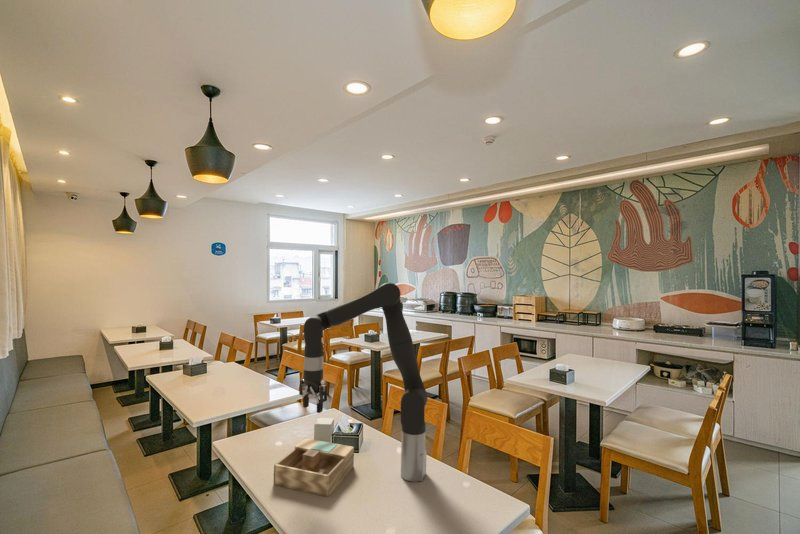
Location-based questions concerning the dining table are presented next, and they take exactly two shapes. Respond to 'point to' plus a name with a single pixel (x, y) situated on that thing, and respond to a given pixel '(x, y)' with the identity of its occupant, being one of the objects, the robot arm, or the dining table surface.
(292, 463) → the crate
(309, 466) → the block
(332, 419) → the supplement box
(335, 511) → the dining table surface
